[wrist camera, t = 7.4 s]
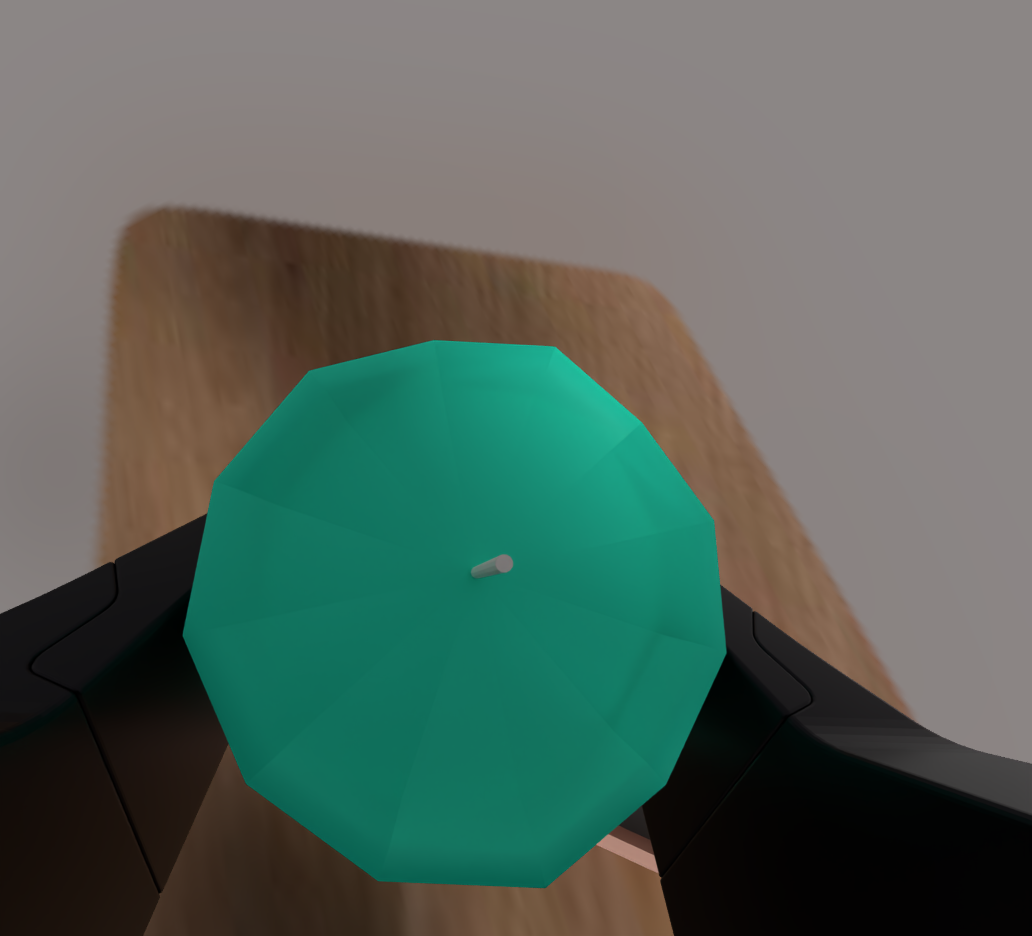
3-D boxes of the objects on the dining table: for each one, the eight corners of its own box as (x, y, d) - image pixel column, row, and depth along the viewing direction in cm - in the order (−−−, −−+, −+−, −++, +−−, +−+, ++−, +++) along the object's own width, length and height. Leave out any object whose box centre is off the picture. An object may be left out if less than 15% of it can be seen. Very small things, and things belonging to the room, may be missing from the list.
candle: (551, 656, 15) (934, 853, 4) (358, 708, 14) (67, 1256, 2) (513, 478, 16) (717, 226, 5) (332, 509, 15) (56, 261, 4)
